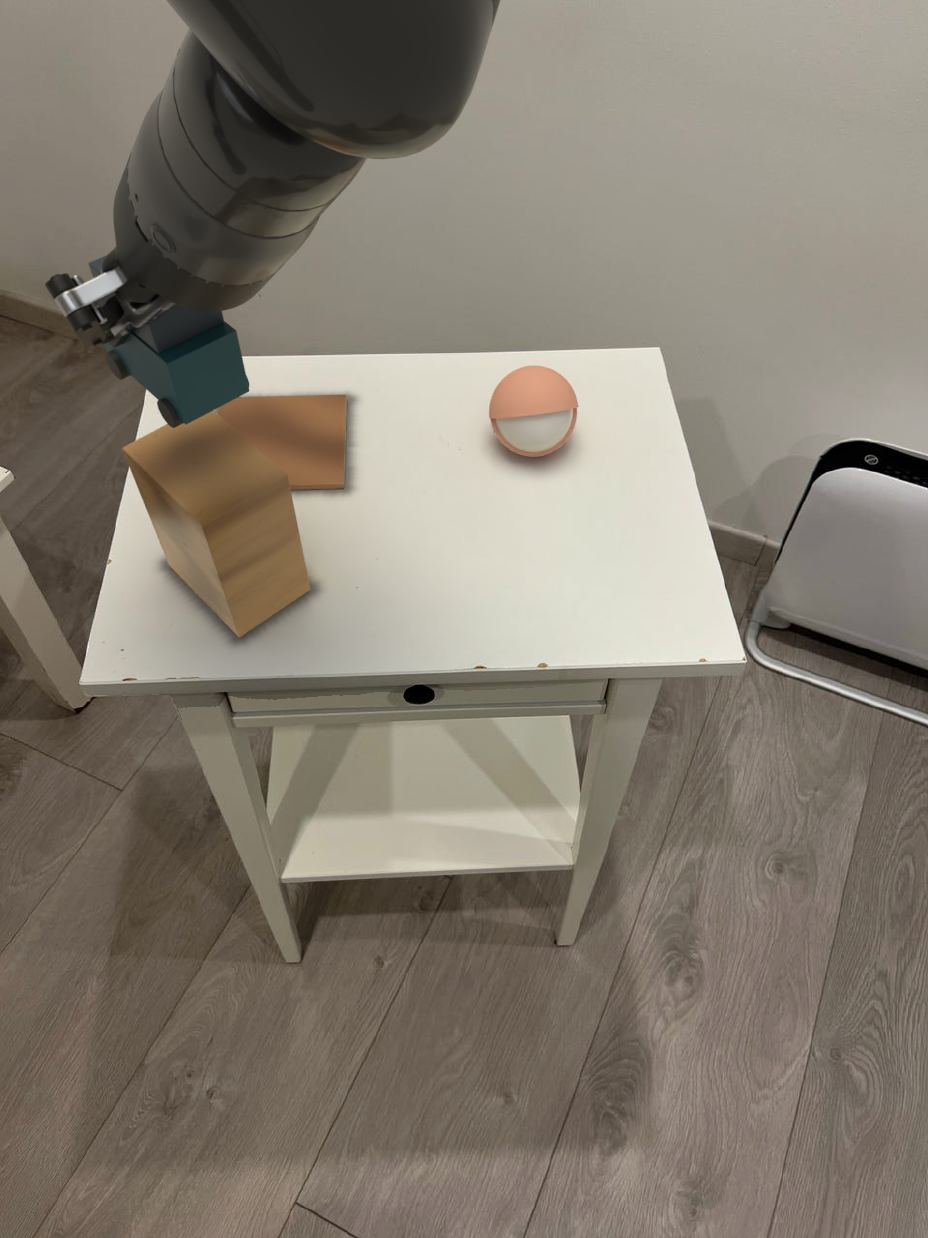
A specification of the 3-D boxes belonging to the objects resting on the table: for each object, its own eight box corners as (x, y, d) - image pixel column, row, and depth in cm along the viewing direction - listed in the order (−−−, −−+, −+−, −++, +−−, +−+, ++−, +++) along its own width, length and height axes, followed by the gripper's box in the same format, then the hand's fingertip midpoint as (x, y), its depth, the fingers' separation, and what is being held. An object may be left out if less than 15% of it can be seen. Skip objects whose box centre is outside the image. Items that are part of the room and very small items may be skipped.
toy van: (257, 398, 54) (233, 283, 48) (183, 438, 52) (146, 323, 45) (177, 332, 58) (145, 216, 51) (105, 366, 55) (61, 250, 49)
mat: (344, 488, 77) (343, 483, 76) (207, 492, 76) (205, 487, 76) (346, 399, 84) (346, 394, 83) (221, 401, 83) (220, 397, 83)
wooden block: (311, 589, 70) (288, 474, 60) (239, 638, 67) (201, 525, 57) (239, 522, 74) (205, 402, 64) (168, 565, 71) (121, 447, 61)
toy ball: (496, 478, 78) (501, 409, 72) (479, 420, 82) (482, 351, 76) (581, 467, 79) (594, 399, 73) (560, 411, 83) (570, 342, 77)
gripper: (307, 60, 39) (211, 210, 54) (11, 162, 33) (-6, 300, 48) (388, 219, 42) (275, 322, 56) (124, 342, 36) (75, 422, 50)
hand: (146, 312), depth 52 cm, fingers closed on toy van, 4 cm apart
